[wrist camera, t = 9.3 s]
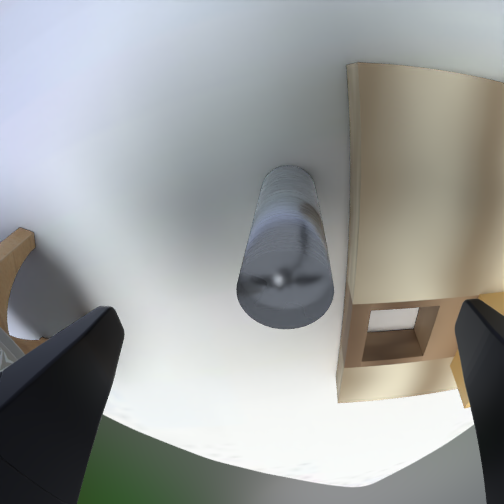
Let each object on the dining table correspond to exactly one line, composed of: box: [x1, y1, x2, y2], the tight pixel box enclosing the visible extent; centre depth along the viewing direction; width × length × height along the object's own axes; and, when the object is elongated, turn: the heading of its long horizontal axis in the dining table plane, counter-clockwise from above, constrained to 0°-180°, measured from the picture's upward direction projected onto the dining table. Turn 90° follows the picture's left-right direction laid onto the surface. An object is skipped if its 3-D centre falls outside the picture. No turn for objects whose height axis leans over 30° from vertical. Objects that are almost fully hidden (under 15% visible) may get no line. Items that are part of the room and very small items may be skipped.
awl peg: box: [236, 165, 334, 329], centre depth 12 cm, size 3×3×8 cm
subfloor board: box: [336, 62, 504, 403], centre depth 15 cm, size 14×20×2 cm
